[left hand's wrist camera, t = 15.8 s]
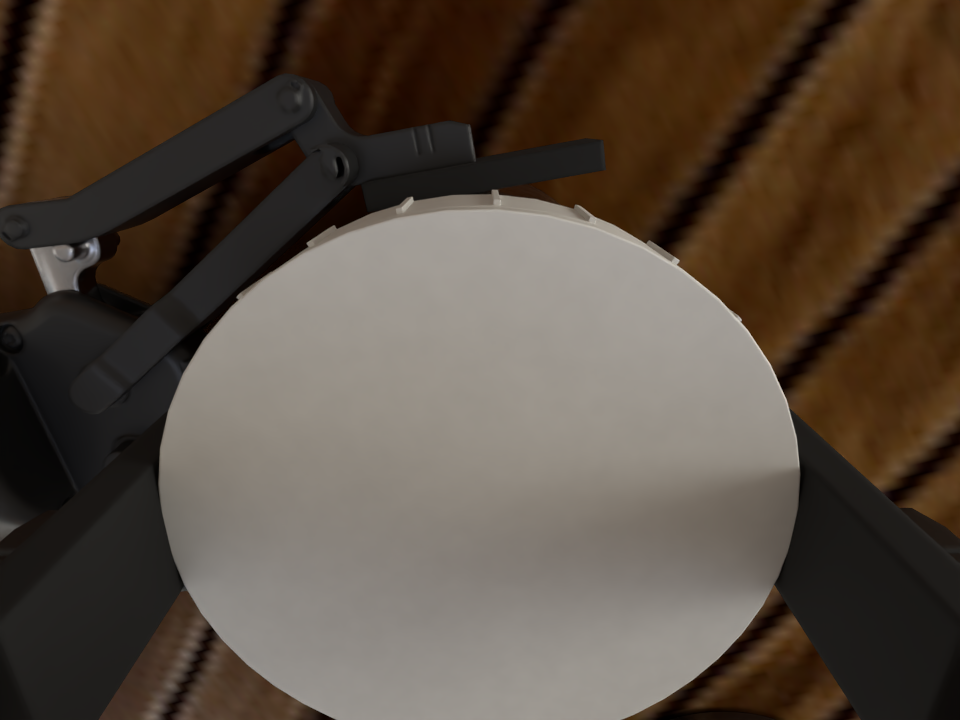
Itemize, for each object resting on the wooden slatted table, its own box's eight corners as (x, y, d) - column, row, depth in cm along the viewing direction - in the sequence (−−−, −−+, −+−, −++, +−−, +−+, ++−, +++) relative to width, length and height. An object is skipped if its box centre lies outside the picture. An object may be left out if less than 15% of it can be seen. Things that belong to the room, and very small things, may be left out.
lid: (864, 440, 12) (937, 501, 10) (504, 730, 15) (508, 819, 13) (437, 42, 9) (426, 19, 7) (110, 494, 13) (41, 562, 11)
